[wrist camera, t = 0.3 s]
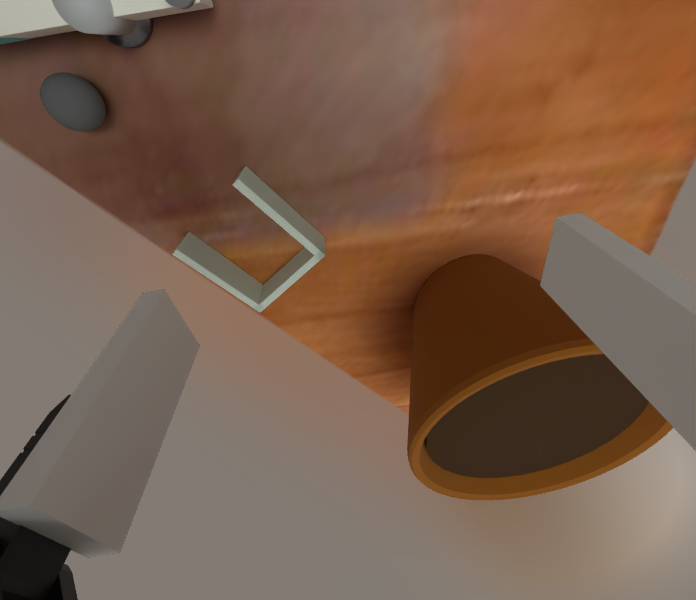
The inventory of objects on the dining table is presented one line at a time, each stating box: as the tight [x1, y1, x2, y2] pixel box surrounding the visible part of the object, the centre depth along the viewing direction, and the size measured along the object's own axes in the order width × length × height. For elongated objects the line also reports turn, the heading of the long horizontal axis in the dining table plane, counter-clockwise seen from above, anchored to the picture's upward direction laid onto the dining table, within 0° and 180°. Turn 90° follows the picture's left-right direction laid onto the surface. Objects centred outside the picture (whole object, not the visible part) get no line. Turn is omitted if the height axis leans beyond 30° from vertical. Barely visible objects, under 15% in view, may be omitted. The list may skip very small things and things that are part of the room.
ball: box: [40, 73, 106, 132], centre depth 26 cm, size 4×4×4 cm
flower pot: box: [407, 254, 673, 500], centre depth 37 cm, size 24×24×20 cm
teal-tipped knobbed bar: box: [0, 0, 214, 44], centre depth 22 cm, size 3×17×5 cm, turn 97°
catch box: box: [172, 166, 326, 312], centre depth 35 cm, size 11×11×4 cm
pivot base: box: [101, 18, 153, 47], centre depth 24 cm, size 4×4×1 cm
